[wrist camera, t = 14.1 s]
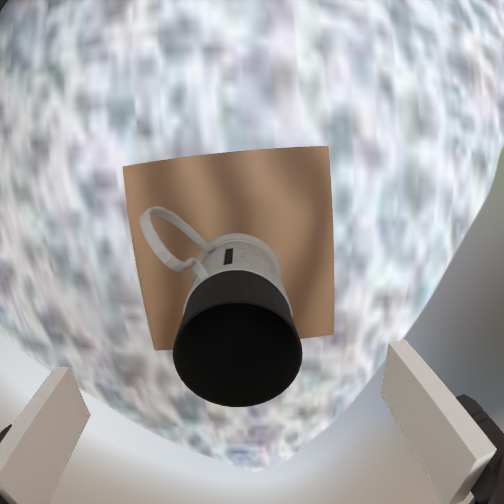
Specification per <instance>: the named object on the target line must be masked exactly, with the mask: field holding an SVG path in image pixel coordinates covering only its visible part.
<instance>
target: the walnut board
mask: <svg viewBox="0 0 504 504" xmlns="http://www.w3.org/2000/svg"><path fill="white" fill-rule="evenodd" d="M123 175H124V184H125V193H126V201H127V209H128V216H129V223H130V230H131V236H132V242H133V249H134V255H135V260H136V266H137V271H138V277H139V282H140V287H141V292H142V297H143V302H144V306H145V311H146V315H147V320H148V324H149V329H150V333H151V337H152V341H153V345H154V349H155V350H172V349H173V346H174V342H175V339H176V335H177V332H178V329H179V327H180V324H181V321H182V318H183V309H184V305H185V302H186V299H187V296H188V294H189V291H190V288H191V286H192V283H193V280H194V271H193V270H192V269H191V268H190V267H189V268H188V269H186V270H185V271H183V272H176V271H174V270H172V269H170V268H169V267H168V266H166V265H165V264H164V263H163V262H162V261H161V260H160V259H159V258H158V257H157V255H156V254H155V253H154V251H153V250H152V248H151V247H150V246H149V244H148V242H147V240H146V238H145V237H144V235H143V232H142V229H141V227H140V217H141V215H142V214H143V213H144V212H145V211H146V210H147V209H148V208H151V207H155V206H159V207H163V208H166V209H168V210H170V211H171V212H173V213H175V214H176V215H178V216H179V217H180V218H181V219H183V220H184V221H185V222H186V223H187V224H188V225H189V226H190V227H192V228H193V229H194V230H195V231H196V232H197V233H198V234H199V235H200V236H201V237H202V238H203V239H204V240H205V241H206V242H208V243H210V242H211V241H212V240H214V239H216V238H218V237H220V236H223V235H226V234H232V233H243V234H249V235H252V236H254V237H257V238H259V239H260V240H262V241H264V242H265V243H266V244H267V245H268V246H270V248H271V249H272V250H273V251H274V253H275V255H276V256H277V258H278V261H279V264H280V268H281V281H282V284H283V287H284V289H285V292H286V294H287V297H288V300H289V302H290V305H291V308H292V316H293V321H294V324H295V327H296V330H297V333H298V335H299V338H300V339H303V338H310V337H318V336H325V335H332V334H334V243H333V214H332V193H331V177H330V162H329V149H328V146H314V147H292V148H275V149H261V150H248V151H237V152H226V153H217V154H207V155H199V156H191V157H183V158H175V159H168V160H161V161H154V162H148V163H142V164H135V165H129V166H124V167H123ZM150 218H151V223H152V225H153V228H154V230H155V231H156V233H157V235H158V236H159V238H160V240H161V241H162V243H163V244H164V245H165V247H166V248H167V249H168V250H169V251H170V253H171V254H172V255H174V256H175V257H176V258H177V259H179V260H180V261H182V262H185V261H187V260H188V259H190V258H192V257H193V258H195V259H197V257H198V256H199V254H200V252H201V251H202V250H203V249H202V248H201V247H200V246H199V245H198V244H196V243H195V242H194V241H193V240H192V239H191V238H190V237H189V236H187V235H186V234H185V233H184V232H183V231H182V230H180V229H179V228H178V227H177V226H175V225H174V224H173V223H171V222H169V221H168V220H166V219H164V218H162V217H159V216H155V215H150Z"/></svg>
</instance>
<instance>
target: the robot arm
mask: <svg viewBox="0 0 504 504" xmlns="http://www.w3.org/2000/svg"><path fill="white" fill-rule="evenodd" d="M6 1H7V0H0V9H1V8H2V7H3V5H4V4H5V2H6ZM381 396H382V397H383V399H384V401H385V403H386V404H387V406H388V408H389V410H390V411H391V413H392V415H393V416H394V418H395V420H396V421H397V423H398V425H399V427H400V429H401V430H402V432H403V434H404V436H405V438H406V439H407V441H408V443H409V445H410V446H411V448H412V450H413V452H414V453H415V455H416V457H417V459H418V461H419V463H420V464H421V466H422V468H423V470H424V472H425V473H426V475H427V477H428V479H429V481H430V482H431V484H432V486H433V488H434V490H435V492H436V494H437V496H438V498H439V499H440V501H441V503H442V504H457V503H459V502H461V501H463V500H464V499H465V498H466V496H467V495H468V494H469V492H470V491H471V492H472V494H473V495H474V498H473V499H472V500H471V502H470V503H469V504H504V433H503V432H502V431H501V430H500V429H499V427H498V426H497V425H496V424H495V423H494V422H493V420H492V419H491V418H489V416H488V415H487V413H486V412H485V411H483V409H482V408H481V407H480V405H479V404H478V403H477V402H476V401H475V400H473V399H472V398H470V397H468V396H466V395H465V394H463V395H461V396H458V397H454V396H453V394H452V393H451V392H450V391H449V390H448V389H447V387H446V386H445V385H444V384H443V382H442V381H441V380H440V379H439V378H438V377H437V375H436V374H435V373H434V372H433V371H432V370H431V368H430V367H429V366H428V365H427V364H426V363H425V362H424V360H423V359H422V358H421V357H420V356H419V355H418V354H417V353H416V351H415V350H414V349H413V348H412V347H411V346H410V345H409V343H408V342H407V341H406V340H400V341H395V342H391V343H388V351H387V359H386V367H385V372H384V379H383V385H382V391H381ZM89 417H90V413H89V411H88V409H87V407H86V405H85V402H84V400H83V398H82V396H81V393H80V391H79V388H78V386H77V384H76V381H75V379H74V376H73V374H72V371H71V369H70V367H58V366H56V367H55V368H54V370H53V371H52V372H51V374H50V375H49V376H48V377H47V379H46V380H45V381H44V383H43V384H42V385H41V387H40V388H39V389H38V391H37V392H36V393H35V395H34V396H33V398H32V399H31V400H30V401H29V403H28V404H27V406H26V407H25V408H24V410H23V411H22V413H21V414H20V415H19V417H18V418H17V420H16V421H15V422H14V424H13V425H9V426H8V427H6V428H5V429H4V430H3V431H1V433H0V504H49V503H50V501H51V499H52V496H53V494H54V492H55V489H56V487H57V485H58V483H59V480H60V478H61V476H62V474H63V471H64V469H65V467H66V465H67V463H68V461H69V458H70V456H71V454H72V452H73V450H74V448H75V446H76V444H77V442H78V439H79V437H80V435H81V433H82V431H83V429H84V427H85V425H86V423H87V421H88V419H89Z"/></svg>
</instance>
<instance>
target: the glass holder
mask: <svg viewBox="0 0 504 504" xmlns="http://www.w3.org/2000/svg"><path fill="white" fill-rule="evenodd" d="M150 215H155V216H159V217H162V218H164V219H166V220H168V221H169V222H171V223H173V224H174V225H175V226H177V227H178V228H179V229H180V230H182V231H183V232H184V233H185V234H186V235H187V236H189V237H190V238H191V239H192V240H193V241H194V242H195V243H196V244H198V245H199V246H200V247H201V248H202V249H203V250H202V251H201V252H200V254H199V256H198V257H197V259H195V258H193V257H192V258H190V259H188V260H187V261H185V262H182V261H180V260H179V259H177V258H176V257H175V256H174V255H172V254H171V253H170V251H169V250H168V249H167V248H166V247H165V245H164V244H163V243H162V241H161V240H160V238H159V236H158V235H157V233H156V231H155V230H154V228H153V225H152V223H151V218H150ZM140 227H141V229H142V232H143V235H144V237H145V238H146V240H147V242H148V244H149V246H150V247H151V248H152V250H153V251H154V253H155V254H156V255H157V257H158V258H159V259H160V260H161V261H162V262H163V263H164V264H165V265H166V266H168V267H169V268H170V269H172V270H174V271H176V272H183V271H185V270H186V269H188V268H189V267H190V268H191V269H192V270H193V271H194V280H193V283H192V286H191V288H190V291H189V294H188V296H187V299H186V302H185V305H184V309H183V318H182V321H181V324H180V327H179V329H178V332H177V335H176V339H175V342H174V346H173V359H174V365H175V368H176V371H177V373H178V375H179V376H180V378H181V380H182V381H183V382H184V384H185V385H186V386H187V387H188V388H189V389H190V390H191V391H193V392H194V393H195V394H196V395H198V396H200V397H201V398H203V399H205V400H207V401H209V402H212V403H215V404H218V405H222V406H229V407H247V406H254V405H257V404H261V403H264V402H266V401H269V400H271V399H273V398H275V397H276V396H278V395H279V394H281V393H282V392H283V391H284V390H285V389H287V388H288V387H289V386H290V384H291V383H292V382H293V381H294V379H295V377H296V376H297V374H298V372H299V369H300V366H301V363H302V345H301V341H300V338H299V335H298V333H297V330H296V327H295V324H294V321H293V316H292V308H291V305H290V302H289V300H288V297H287V294H286V292H285V289H284V287H283V284H282V281H281V268H280V264H279V261H278V258H277V256H276V255H275V253H274V251H273V250H272V249H271V248H270V246H268V245H267V244H266V243H265V242H264V241H262V240H260V239H259V238H257V237H254V236H252V235H249V234H243V233H232V234H226V235H223V236H220V237H218V238H216V239H214V240H212V241H211V242H210V243H208V242H206V241H205V240H204V239H203V238H202V237H201V236H200V235H199V234H198V233H197V232H196V231H195V230H194V229H193V228H192V227H190V226H189V225H188V224H187V223H186V222H185V221H184V220H183V219H181V218H180V217H179V216H178V215H176V214H175V213H173V212H171V211H170V210H168V209H166V208H163V207H159V206H155V207H151V208H148V209H147V210H146V211H145V212H144V213H143V214H142V215H141V217H140Z"/></svg>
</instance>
